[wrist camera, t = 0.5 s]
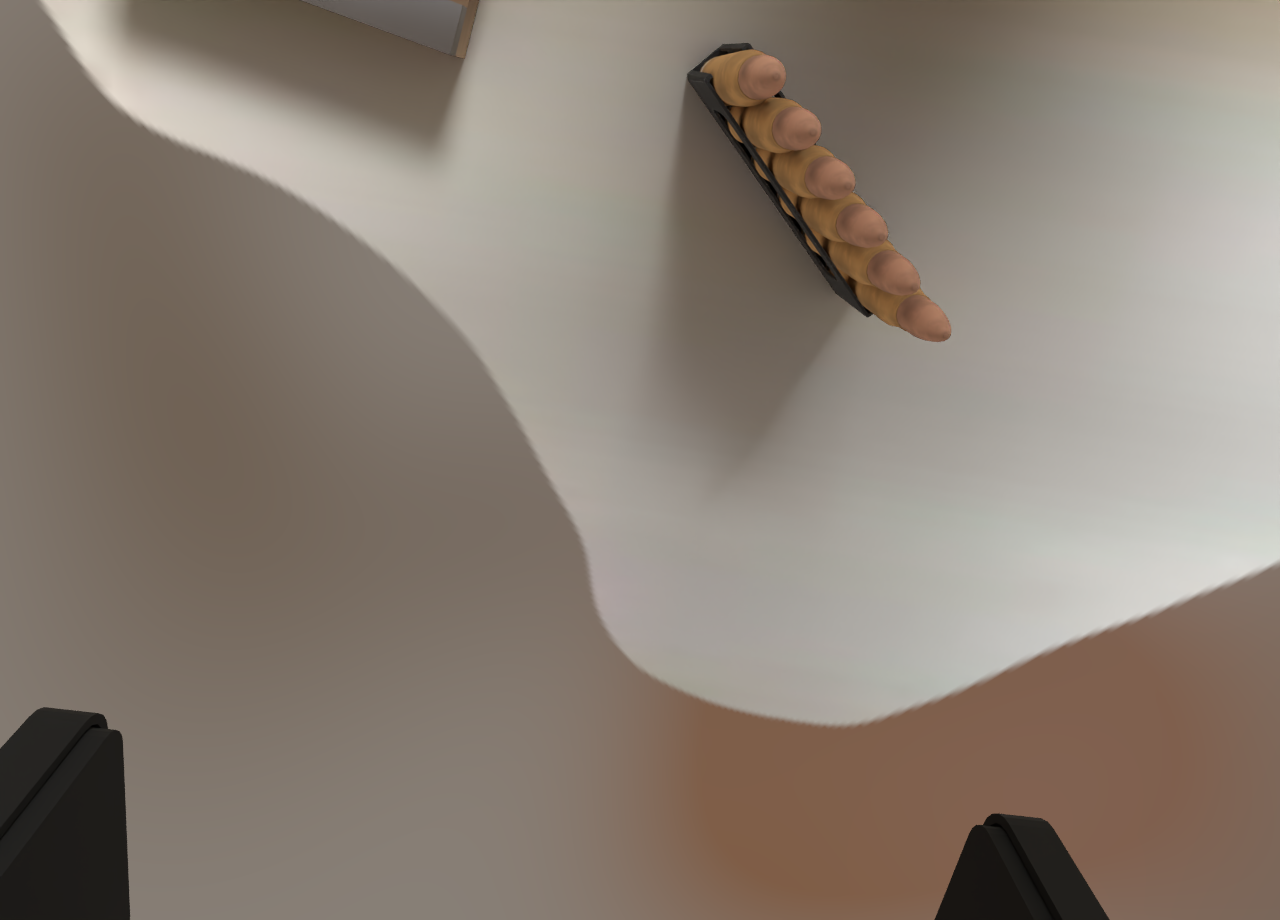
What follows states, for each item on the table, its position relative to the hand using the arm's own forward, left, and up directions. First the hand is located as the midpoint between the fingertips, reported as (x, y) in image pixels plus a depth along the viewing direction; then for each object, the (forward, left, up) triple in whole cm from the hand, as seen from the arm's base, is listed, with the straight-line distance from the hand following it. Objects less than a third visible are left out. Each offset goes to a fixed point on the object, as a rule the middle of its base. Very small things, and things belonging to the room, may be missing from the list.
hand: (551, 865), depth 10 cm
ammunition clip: (-7, +6, -30) cm, 31 cm away
